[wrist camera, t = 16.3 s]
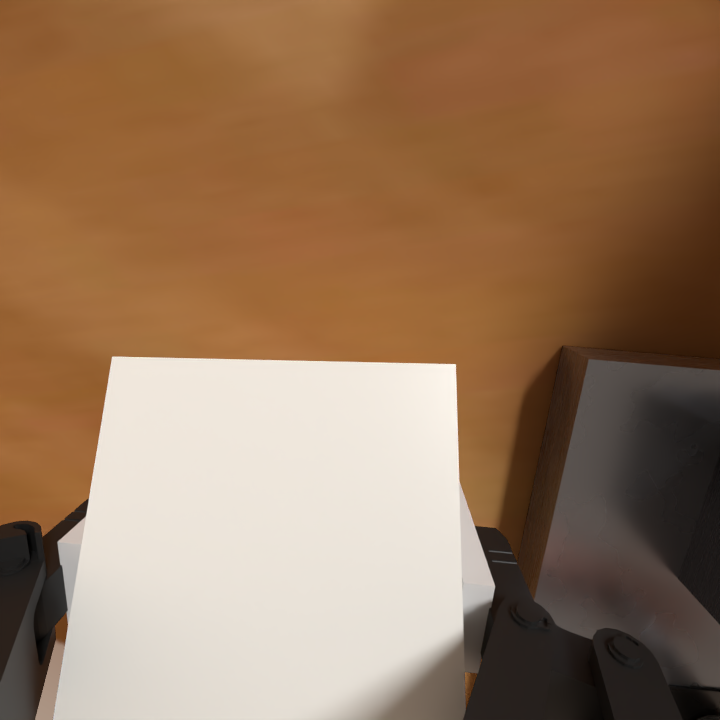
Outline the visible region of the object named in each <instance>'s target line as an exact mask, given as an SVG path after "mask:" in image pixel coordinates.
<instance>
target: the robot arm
mask: <svg viewBox="0 0 720 720" xmlns="http://www.w3.org/2000/svg"><path fill="white" fill-rule="evenodd" d="M459 493H460V528H461V562H462V597H463V631H464V666H465V672H469V673H478V674H477V678H476V681H475V684H474V687H473V690H472V693H471V696H470V699H469V703H468V706H467V709H466V712H465V715H464V718H463V720H683V719H682V717H681V714H680V712H679V710H678V707H677V705H676V703H675V700H674V698H673V696H672V693H671V691H670V689H669V686H668V684H667V682H666V679H665V677H664V675H663V672H662V670H661V668H660V665H659V663H658V661H657V660H656V658H655V657H654V655H653V653H652V652H651V651H650V650H649V649H648V648H647V647H646V646H645V645H644V644H643V643H642V642H640V641H639V640H637V639H636V638H634V637H633V636H631V635H630V634H627V633H625V632H622V631H620V630H618V629H612V628H603V629H599V630H597V631H596V633H595V634H594V635H593V638H592V640H591V639H589V638H586V637H583V636H580V635H578V634H575V633H572V632H569V631H567V630H565V629H563V628H561V627H559V626H557V625H556V624H555V622H554V620H553V619H552V617H551V615H550V614H549V613H548V612H547V611H546V610H545V609H544V608H543V607H542V606H541V605H539V604H538V603H536V602H534V600H533V598H532V595H531V593H530V591H529V588H528V586H527V584H526V582H525V579H524V577H523V575H522V573H521V570H520V568H519V566H518V565H517V561H516V559H515V557H514V554H512V550H511V547H510V545H509V543H508V541H507V539H506V538H505V537H504V536H503V535H502V534H501V533H500V532H499V531H498V530H497V529H496V528H488V527H478V526H474V523H473V520H472V517H471V514H470V511H469V508H468V505H467V502H466V499H465V497H464V494H463V491H462V488H461V485H460V482H459ZM88 502H89V499H87V500H86V501H85V502H84V503H82V504H81V505H80V506H79V507H78V508H76V509H75V511H74V512H72V513H71V514H69V515H68V516H67V517H66V518H65V520H64V521H63V520H62V521H61V522H60V523H59V524H58V525H56V526H55V527H54V528H53V529H52V530H50V531H49V532H48V533H47V534H46V535H45V536H43V537H42V532H41V526H40V525H39V524H37V523H36V522H31V521H17V522H12V523H8V524H4V525H1V526H0V720H35V716H36V713H37V709H38V705H39V701H40V697H41V694H42V690H43V686H44V682H45V678H46V675H47V671H48V666H49V663H50V659H51V655H52V651H53V648H54V644H55V640H56V632H55V625H56V624H57V622H58V621H59V620H60V619H61V618H62V617H63V615H64V614H65V613H66V612H67V620H68V624H69V618H70V612H71V606H72V599H73V593H74V587H75V581H76V575H77V569H78V563H79V557H80V551H81V545H82V539H83V532H84V526H85V520H86V514H87V508H88ZM481 657H482V662H481ZM480 662H481V665H480ZM479 667H480V668H479Z"/></svg>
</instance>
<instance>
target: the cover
mask: <svg viewBox="0 0 720 720" xmlns="http://www.w3.org/2000/svg"><path fill="white" fill-rule="evenodd" d="M465 712H466V701H465V666H464V631H463V597H462V562H461V528H460V493H459V458H458V424H457V389H456V364H419V363H373V362H328V361H283V360H238V359H193V358H148V357H112V362H111V368H110V374H109V380H108V386H107V392H106V398H105V404H104V410H103V417H102V423H101V429H100V435H99V441H98V447H97V453H96V459H95V465H94V471H93V478H92V484H91V490H90V496H89V502H88V508H87V514H86V520H85V526H84V532H83V539H82V545H81V551H80V557H79V563H78V569H77V575H76V581H75V587H74V593H73V599H72V606H71V612H70V618H69V624H68V630H67V636H66V642H65V648H64V654H63V661H62V667H61V673H60V679H59V685H58V691H57V697H56V704H55V709H54V715H53V720H463V718H464V715H465Z"/></svg>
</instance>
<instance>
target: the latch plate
mask: <svg viewBox="0 0 720 720" xmlns="http://www.w3.org/2000/svg"><path fill="white" fill-rule="evenodd" d="M517 565H518V566H519V568H520V570H521V573H522V575H523V577H524V579H525V582H526V584H527V586H528V588H529V591H530V593H531V595H532V598H533V600H534V602H536V603H538V604H539V605H541V606H542V607H543V608H544V609H545V610H546V611H547V612H548V613H549V614H550V615H551V617H552V619H553V620H554V622H555V624H556V625H557V626H559V627H561V628H563V629H565V630H567V631H569V632H572V633H575V634H578V635H580V636H583V637H586V638H589V639H591V640H592V638H593V635H594V634H595V633H596V631H597V630H599V629H603V628H612V629H618V630H620V631H622V632H625V633H627V634H630V635H631V636H633V637H634V638H636V639H637V640H639V641H640V642H642V643H643V644H644V645H645V646H646V647H647V648H648V649H649V650H650V651H651V652H652V653H653V655H654V657H655V658H656V660H657V661H658V663H659V665H660V668H661V670H662V672H663V675H664V677H665V679H666V682H667V684H668V686H669V689H670V691H671V693H672V696H673V698H674V700H675V703H676V705H677V707H678V710H679V712H680V714H681V717H682V719H683V720H696V719H698V718H700V717H703V716H709V715H715V716H720V359H714V358H702V357H690V356H678V355H667V354H655V353H643V352H631V351H620V350H608V349H596V348H584V347H573V346H562V351H561V356H560V361H559V365H558V370H557V375H556V380H555V385H554V389H553V394H552V399H551V404H550V409H549V413H548V418H547V423H546V428H545V433H544V437H543V442H542V447H541V452H540V456H539V461H538V466H537V471H536V476H535V480H534V485H533V490H532V495H531V500H530V504H529V509H528V514H527V519H526V524H525V528H524V533H523V538H522V543H521V547H520V552H519V557H518V562H517Z"/></svg>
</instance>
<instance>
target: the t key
mask: <svg viewBox="0 0 720 720" xmlns="http://www.w3.org/2000/svg"><path fill="white" fill-rule="evenodd" d="M696 720H720V716H715V715H709V716H703V717H700V718H698V719H696Z"/></svg>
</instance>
